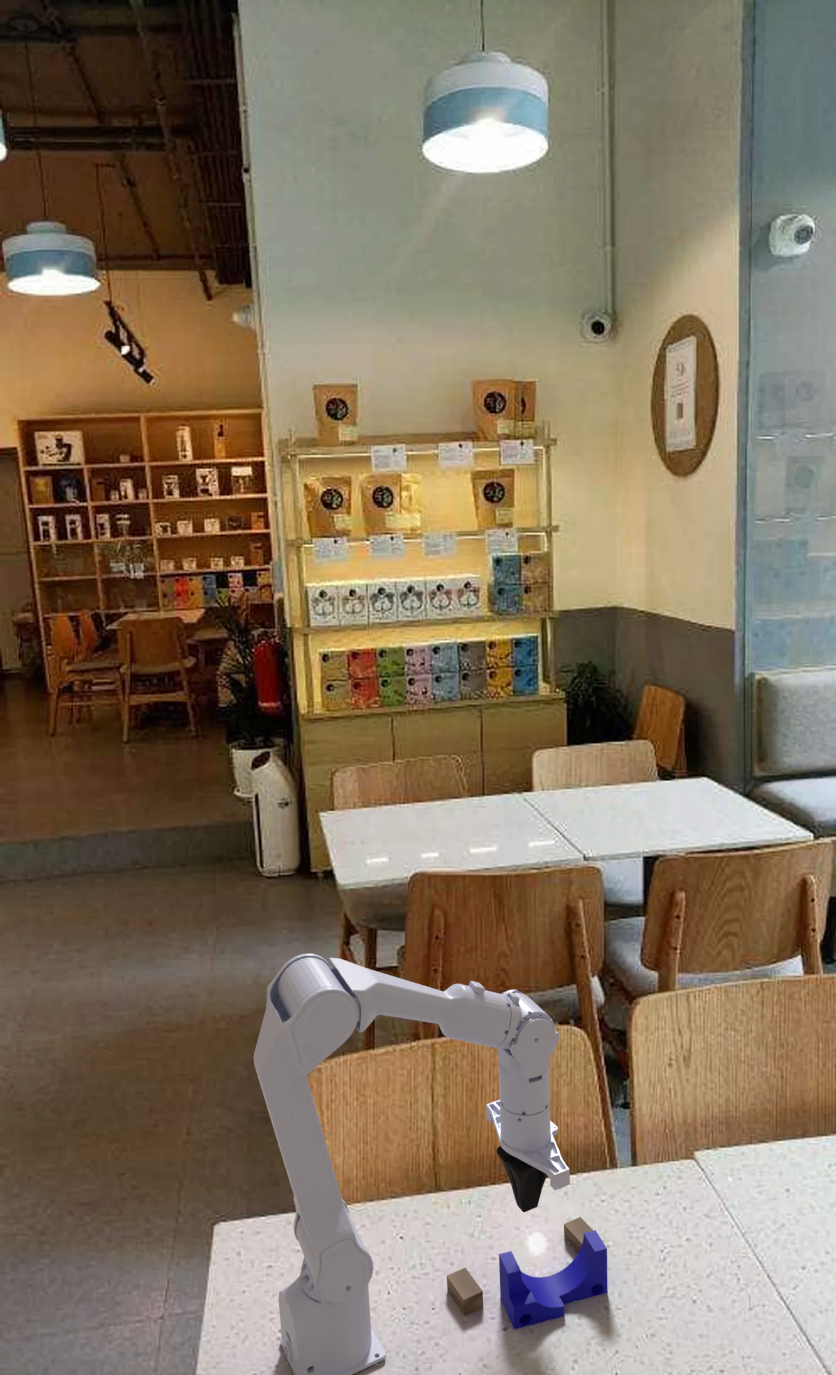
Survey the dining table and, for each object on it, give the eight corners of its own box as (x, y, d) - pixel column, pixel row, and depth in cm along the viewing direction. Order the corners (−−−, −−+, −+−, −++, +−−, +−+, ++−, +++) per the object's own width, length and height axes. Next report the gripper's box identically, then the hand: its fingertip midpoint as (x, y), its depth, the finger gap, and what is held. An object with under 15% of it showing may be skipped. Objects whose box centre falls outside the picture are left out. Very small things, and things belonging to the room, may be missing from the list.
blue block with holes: (514, 1331, 105) (512, 1283, 104) (500, 1299, 109) (498, 1254, 108) (613, 1304, 108) (613, 1258, 107) (596, 1275, 112) (595, 1230, 111)
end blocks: (464, 1315, 107) (463, 1300, 107) (447, 1290, 111) (446, 1275, 110) (600, 1251, 115) (600, 1237, 115) (580, 1230, 119) (580, 1216, 119)
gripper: (592, 1123, 103) (593, 1233, 106) (519, 1059, 116) (522, 1158, 119) (537, 1144, 100) (540, 1257, 103) (469, 1076, 113) (473, 1177, 116)
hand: (527, 1206), depth 110 cm, fingers closed
